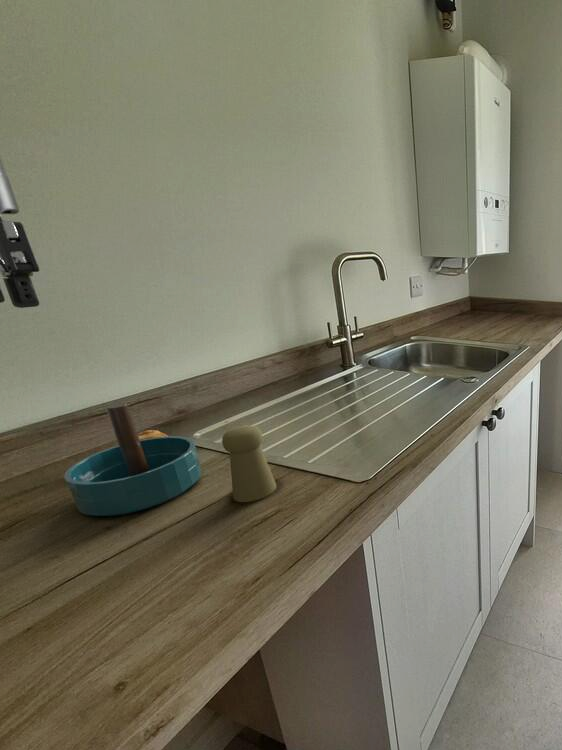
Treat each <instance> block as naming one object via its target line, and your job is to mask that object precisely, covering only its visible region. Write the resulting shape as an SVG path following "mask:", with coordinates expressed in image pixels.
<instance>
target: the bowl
mask: <svg viewBox="0 0 562 750" xmlns="http://www.w3.org/2000/svg"><path fill="white" fill-rule="evenodd" d="M167 436H168V437H156V438H150V439H144V440H140V443H141V446H142V449H143V452H144V455H145V458H146V461H147V464H148V467H149V470H150V471H147V472H144V473H141V474H138V475H134V476H129V473H128V470H127V467H126V464H125V461H124V458H123V455H122V453H121V450H120V447H119V445H115V446H112V447H110V448H107V449H104V450H101V451H99V452H96V453H94V454H92V455H89V456H87V457H84V458H82V459H81V460H80V461H78V462H76V463H75V464H73V465H71V467H70V468H68V469H67V470H66V471H65V474H64V476H63V478H64V480H65V483H66V485H67V488H68V490H69V493H70V496H71V498H72V501H73V503H74V505H75V508H76V509H77V510H78V513H81V514H84V515H85V516H87V515H88V516H97V517H102V516H103V517H104V516H105V517H107V516H108V517H110V516H121V515H127V514H131V513H136V512H139V511H140V512H141V511H145V510H146V509H151V508H153V507H156V506H159V505H161V504H163V503H165V502H168V501H170V500H172V499H174V498H176V497H178V496H180V495H181V494H182V493H184V492H185V491H187V490H188V489H189V488H191V487H192V486H193V485H194V484H195V483H197V481H198V480H199V479H200V478H201V476H202V474H203V470H202V465H201V462H200V458H199V455H198V451H197V448H196V443H195V441H194V440H192V439H191V438H189V437H186V436H174V435H172V436H170V435H167Z"/></svg>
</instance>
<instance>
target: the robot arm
mask: <svg viewBox="0 0 562 750" xmlns="http://www.w3.org/2000/svg"><path fill="white" fill-rule="evenodd" d="M19 212H20V208H19V205H18V202H17V198H16V197H15V193H14V190H13V187H12V185H11V181H10V178H9V176H8V173H7V170H6V167H5V165H4V161H3V158H2V156H1V155H0V275H1V276H2V277H3V278H2V280H3V283H4V284H5V288H6V290H7V293H8V296H9V299H10V301H11V304H12V306H14V307H15V308H18V309H19V308H20V309H24V308H36V307H39V306H40V300H39V298H38V295H37V292H36V289H35V287H34V286H35V285H34V283H33V281H32V277H33V276H34V273H38V272H40V266H39V264H38V262H37V261H38V260H37V259H36V256H35V254H34V251H33V248H32V246H31V243H30V240H29V238H28V235H27V232H26V230H25V226H24V225H23V223H22V222H21V221H12V220H5V218H4V216H3V215H16V214H19ZM5 301H6V298H5V295H4V293H3V290H2V287H1V286H0V304H1V303H4V302H5Z"/></svg>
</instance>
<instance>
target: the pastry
mask: <svg viewBox="0 0 562 750" xmlns="http://www.w3.org/2000/svg"><path fill="white" fill-rule="evenodd" d="M137 434H138V437H139V440H144V439H150V438H156V437H168V436H169V435H168V434H166V433H164V432H161V431H159V430H157V429H155V430H152V429H149V430H143V431H141V432H139V433H137Z"/></svg>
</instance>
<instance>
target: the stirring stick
mask: <svg viewBox="0 0 562 750" xmlns="http://www.w3.org/2000/svg"><path fill="white" fill-rule="evenodd" d="M105 409H106V412H107V415H108V418H109V421H110V424H111V427H112V430H113V432H114V436H115V438H116V441H117V444H118V446H119V447H120V450H121V453H122V455H123V458H124V461H125V464H126V467H127V470H128V473H129V476H134V475H138V474H141V473H144V472H147V471H150V470H149V467H148V464H147V461H146V458H145V455H144V452H143V449H142V446H141V443H140V440H139V437H138V434H139V433H138V431H137V428H136V425H135V422H134V419H133V416H132V412H131V410H130V406H129V403H127V402H117V403H113V404H109V405H107V406H106V407H105Z"/></svg>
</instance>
